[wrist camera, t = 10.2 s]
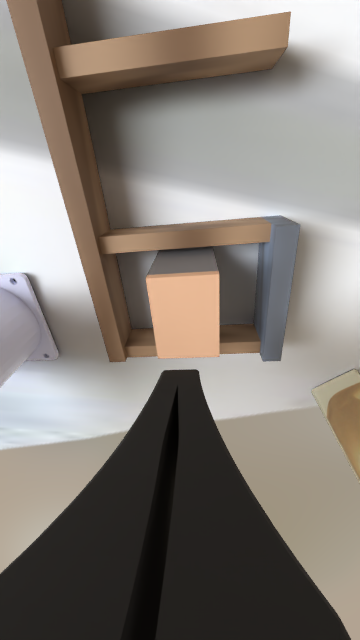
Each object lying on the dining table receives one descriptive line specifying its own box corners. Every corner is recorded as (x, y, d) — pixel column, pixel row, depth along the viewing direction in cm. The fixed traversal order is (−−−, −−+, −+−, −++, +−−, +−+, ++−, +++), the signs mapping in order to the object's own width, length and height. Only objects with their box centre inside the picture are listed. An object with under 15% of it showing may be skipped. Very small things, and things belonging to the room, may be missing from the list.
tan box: (167, 310, 20) (158, 358, 15) (160, 248, 17) (145, 278, 12) (213, 308, 20) (219, 356, 14) (212, 244, 17) (219, 274, 12)
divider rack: (120, 339, 22) (108, 366, 18) (-19, -225, 9) (-125, -423, 6) (267, 333, 20) (280, 360, 17) (337, -318, 8) (422, -615, 5)
